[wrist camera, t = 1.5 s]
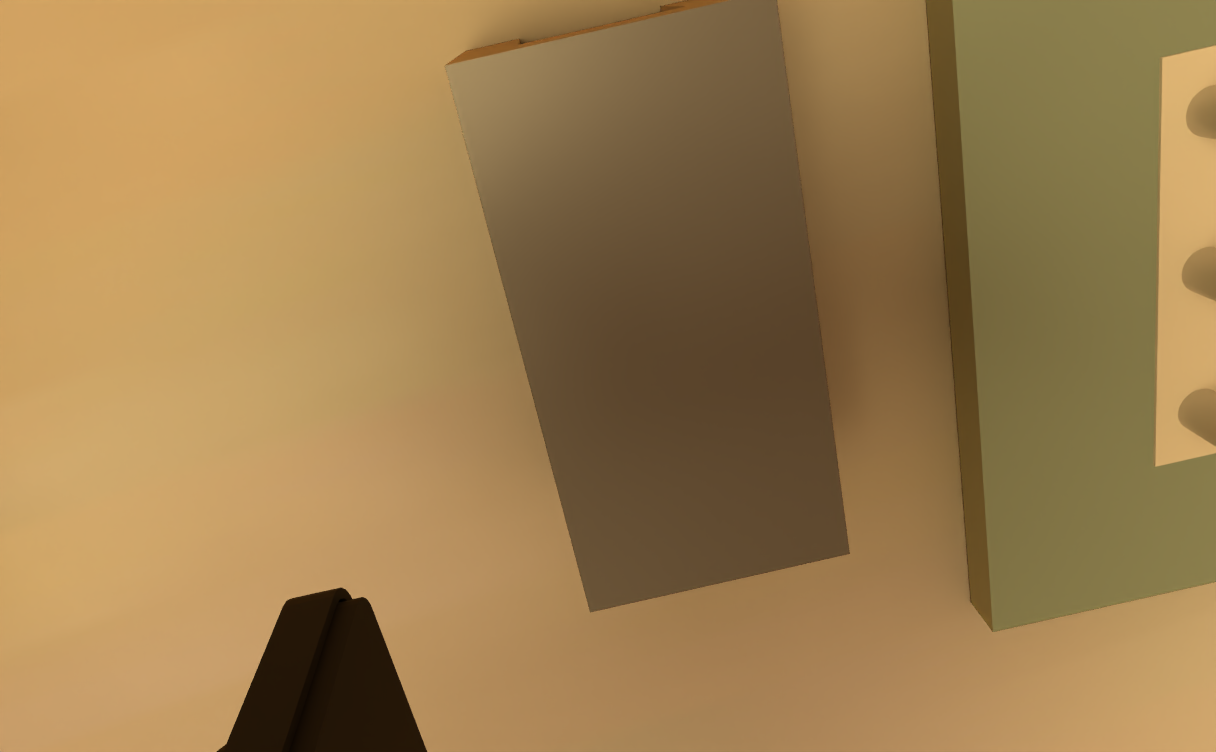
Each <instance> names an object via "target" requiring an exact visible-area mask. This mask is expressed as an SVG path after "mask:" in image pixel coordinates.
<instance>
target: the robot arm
mask: <svg viewBox="0 0 1216 752" xmlns="http://www.w3.org/2000/svg"><path fill="white" fill-rule="evenodd" d="M217 752H427V750H426V748H425V745H424V742H423V740H422V737H421V735H420V732H419V729H418V727H417V724H416V722H415V719H414V716H413V714H412V711H411V709H410V706H409V703H408V701H407V698H406V695H405V693H404V690H403V688H402V685H401V682H400V680H399V677H398V675H397V672H396V669H395V667H394V664H393V661H392V659H391V656H390V654H389V651H388V648H387V646H386V643H385V641H384V638H383V635H382V633H381V630H380V628H379V625H378V622H377V620H376V617H375V614H374V612H373V609H372V607H371V605H370V603H369V602H368V600H367V599H366V598H364V597H361V598H357V599H352V598H351V596H350V594H349V593H348V592H347V591H346V589H343V588H337V589H333V590H328V591H323V592H319V593H314V594H310V595H305V596H301V597H296V598H292V599H289V600H287V601H286V603H285V604H284V606H283V608H282V610H281V613H280V615H279V617H278V620H277V622H276V625H275V627H274V630H273V632H272V635H271V637H270V639H269V642H268V644H267V647H266V649H265V652H264V654H263V656H262V659H261V661H260V664H259V666H258V669H257V671H256V673H255V676H254V678H253V681H252V683H251V686H250V688H249V690H248V693H247V695H246V698H245V700H244V703H243V705H242V707H241V710H240V712H239V715H238V717H237V720H236V722H235V724H234V727H233V729H232V732H231V734H230V737H229V739H228V742H227V744H226V745H225V746H223V747H222V748H221V749H219V750H218V751H217Z"/></svg>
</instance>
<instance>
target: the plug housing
mask: <svg viewBox="0 0 1216 752" xmlns="http://www.w3.org/2000/svg"><path fill="white" fill-rule="evenodd" d="M660 8H661V12H659V13H654V14H650V15H646V16H641V17H637V18H633V19H628V20H624V21H620V22H615V23H611V24H606V25H602V26H598V27H593V28H589V29H585V30H580V31H576V32H572V33H567V34H563V35H559V36H554V37H550V38H546V39H541V40H537V41H532V42H528V43H524V44H521V42H520V39H516V40H511V41H507V42H502V43H498V44H494V45H489V46H485V47H481V48H476V49H472V50H468V51H465V52H464V53H462V54H461V55H459V56H458V57H456V58H455V59H454V60H452V61H451V62H449V63H448V64H446V65H445V69H446V72H447V76H448V80H449V84H450V87H451V91H452V95H453V99H454V102H455V106H456V110H457V114H458V118H459V121H460V125H461V129H462V133H463V136H464V140H465V144H466V148H467V151H468V155H469V159H470V163H471V166H472V170H473V174H474V178H475V181H476V185H477V189H478V193H479V196H480V200H481V204H482V208H483V211H484V215H485V219H486V223H487V226H488V230H489V234H490V238H491V241H492V245H493V249H494V253H495V257H496V260H497V264H498V268H499V272H500V275H501V279H502V283H503V287H504V290H505V294H506V298H507V302H508V305H509V309H510V313H511V317H512V320H513V324H514V328H515V332H516V335H517V339H518V343H519V347H520V350H521V354H522V358H523V362H524V365H525V369H526V373H527V377H528V381H529V384H530V388H531V392H532V396H533V399H534V403H535V407H536V411H537V414H538V418H539V422H540V426H541V429H542V433H543V437H544V441H545V444H546V448H547V452H548V456H549V459H550V463H551V467H552V471H553V474H554V478H555V482H556V486H557V489H558V493H559V497H560V501H561V504H562V508H563V512H564V516H565V520H566V523H567V527H568V531H569V535H570V538H571V542H572V546H573V550H574V553H575V557H576V561H577V565H578V568H579V572H580V576H581V580H582V583H583V587H584V591H585V595H586V598H587V602H588V606H589V610H590V612H594V611H598V610H603V609H607V608H612V607H616V606H621V605H625V604H629V603H634V602H638V601H643V600H647V599H652V598H656V597H660V596H665V595H669V594H674V593H678V592H683V591H687V590H691V589H696V588H700V587H705V586H709V585H714V584H718V583H722V582H727V581H731V580H736V579H740V578H745V577H749V576H753V575H758V574H762V573H767V572H771V571H776V570H780V569H784V568H789V567H793V566H798V565H802V564H807V563H811V562H815V561H820V560H824V559H829V558H833V557H838V556H842V555H846V554H850V552H849V544H848V537H847V529H846V522H845V514H844V506H843V499H842V491H841V484H840V476H839V469H838V461H837V453H836V446H835V438H834V431H833V423H832V415H831V408H830V400H829V393H828V385H827V378H826V370H825V362H824V355H823V347H822V340H821V332H820V324H819V317H818V309H817V302H816V294H815V286H814V279H813V271H812V264H811V256H810V249H809V241H808V233H807V226H806V218H805V211H804V203H803V195H802V188H801V180H800V173H799V165H798V157H797V150H796V142H795V135H794V127H793V120H792V112H791V104H790V97H789V89H788V82H787V74H786V66H785V59H784V51H783V44H782V36H781V28H780V21H779V13H778V6H777V0H685V1H681V2H677V3H672V4H668V5H664V6H660Z"/></svg>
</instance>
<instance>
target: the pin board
mask: <svg viewBox="0 0 1216 752" xmlns="http://www.w3.org/2000/svg"><path fill="white" fill-rule="evenodd" d="M926 6H927V20H928V33H929V47H930V60H931V74H932V87H933V100H934V114H935V127H936V141H937V154H938V168H939V181H940V195H941V208H942V222H943V235H944V249H945V262H946V275H947V289H948V302H949V316H950V329H951V343H952V356H953V370H954V383H955V397H956V410H957V424H958V437H959V451H960V464H961V477H962V491H963V504H964V518H965V531H966V545H967V558H968V572H969V585H970V599H971V603H972V604H973V606H974V607H975V609H976V610H977V611H978V613H979V614H980V615H981V617H982V618H983V619H984V621H985V622H986V623H987V625H988V626H989V627H990V629H991V630H992V632H996V631H1000V630H1005V629H1009V628H1014V627H1018V626H1022V625H1027V624H1031V623H1036V622H1040V621H1045V620H1049V619H1054V618H1058V617H1062V616H1067V615H1071V614H1076V613H1080V612H1085V611H1089V610H1094V609H1098V608H1102V607H1107V606H1111V605H1116V604H1120V603H1125V602H1129V601H1134V600H1138V599H1142V598H1147V597H1151V596H1156V595H1160V594H1165V593H1169V592H1174V591H1178V590H1182V589H1187V588H1191V587H1196V586H1200V585H1205V584H1209V583H1214V582H1216V0H926Z"/></svg>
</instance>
